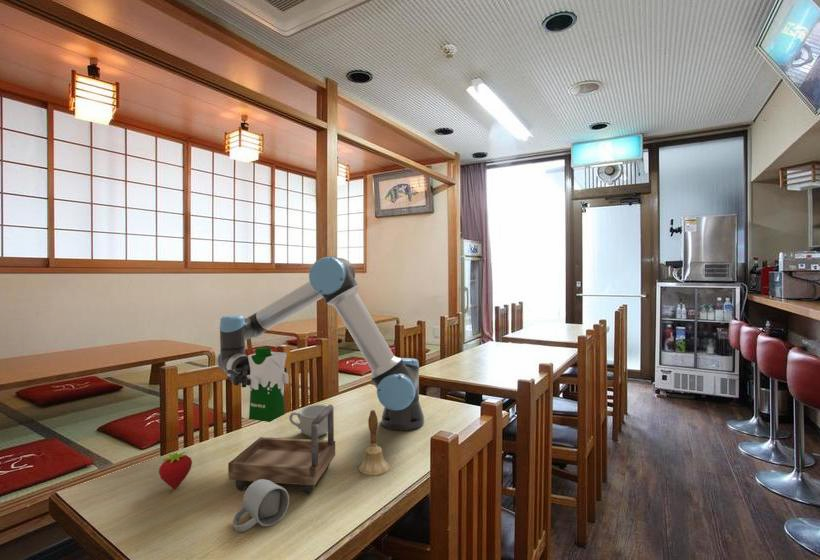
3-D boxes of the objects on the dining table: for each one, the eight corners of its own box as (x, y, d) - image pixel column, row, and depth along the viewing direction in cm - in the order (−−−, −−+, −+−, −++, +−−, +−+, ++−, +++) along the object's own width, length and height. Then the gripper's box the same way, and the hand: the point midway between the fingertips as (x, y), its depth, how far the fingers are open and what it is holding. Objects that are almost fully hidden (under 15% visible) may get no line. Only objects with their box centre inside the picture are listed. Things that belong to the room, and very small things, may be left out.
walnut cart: (336, 465, 112) (335, 402, 112) (315, 497, 96) (314, 423, 96) (260, 461, 115) (259, 399, 115) (228, 491, 99) (227, 419, 99)
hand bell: (364, 478, 105) (364, 418, 105) (355, 465, 113) (354, 408, 113) (393, 471, 109) (393, 413, 109) (382, 459, 116) (382, 404, 116)
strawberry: (197, 484, 103) (197, 445, 102) (166, 498, 96) (166, 457, 96) (184, 478, 106) (184, 440, 106) (154, 491, 99) (153, 451, 99)
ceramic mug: (271, 502, 95) (270, 470, 94) (290, 516, 89) (289, 482, 89) (225, 524, 87) (224, 489, 87) (243, 541, 81) (242, 503, 81)
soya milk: (243, 420, 113) (244, 348, 112) (265, 410, 121) (265, 343, 121) (270, 423, 110) (270, 350, 110) (290, 413, 118) (290, 345, 118)
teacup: (336, 428, 140) (336, 405, 140) (326, 441, 129) (326, 416, 129) (297, 426, 141) (297, 403, 141) (284, 439, 130) (284, 414, 130)
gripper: (274, 373, 135) (307, 387, 118) (208, 385, 122) (233, 403, 105) (274, 351, 135) (306, 362, 118) (207, 360, 122) (233, 374, 104)
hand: (272, 381), depth 111 cm, fingers closed on soya milk, 8 cm apart
